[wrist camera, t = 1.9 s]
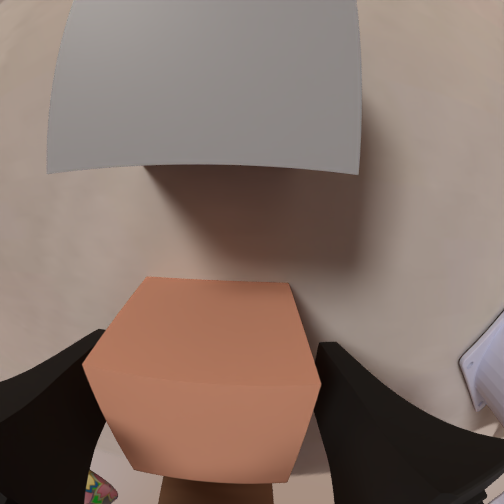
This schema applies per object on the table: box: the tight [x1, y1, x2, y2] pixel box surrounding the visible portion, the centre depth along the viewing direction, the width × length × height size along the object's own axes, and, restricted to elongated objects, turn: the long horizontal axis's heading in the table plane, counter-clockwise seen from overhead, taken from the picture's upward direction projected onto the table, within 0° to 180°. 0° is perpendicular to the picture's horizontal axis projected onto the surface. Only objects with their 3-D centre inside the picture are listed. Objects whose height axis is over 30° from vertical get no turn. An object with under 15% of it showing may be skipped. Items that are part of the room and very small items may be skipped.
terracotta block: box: [82, 277, 321, 484], centre depth 8 cm, size 5×5×5 cm
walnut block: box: [158, 476, 274, 504], centre depth 11 cm, size 5×5×5 cm
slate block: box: [47, 0, 362, 175], centre depth 5 cm, size 5×5×5 cm
